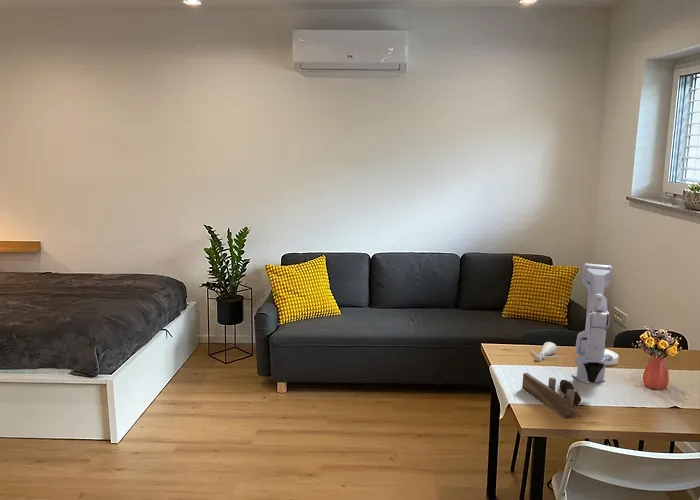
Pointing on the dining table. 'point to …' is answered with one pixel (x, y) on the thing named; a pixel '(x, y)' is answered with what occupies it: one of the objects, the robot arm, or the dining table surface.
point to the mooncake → (615, 356)
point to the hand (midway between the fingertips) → (591, 381)
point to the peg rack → (551, 396)
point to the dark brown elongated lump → (567, 385)
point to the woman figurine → (546, 351)
